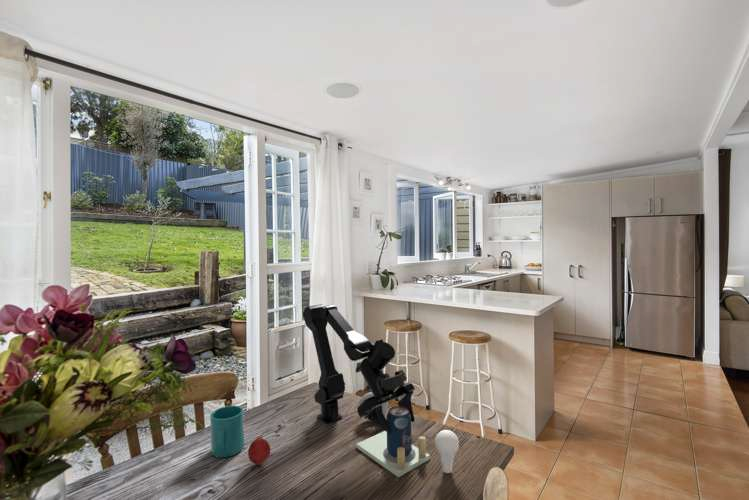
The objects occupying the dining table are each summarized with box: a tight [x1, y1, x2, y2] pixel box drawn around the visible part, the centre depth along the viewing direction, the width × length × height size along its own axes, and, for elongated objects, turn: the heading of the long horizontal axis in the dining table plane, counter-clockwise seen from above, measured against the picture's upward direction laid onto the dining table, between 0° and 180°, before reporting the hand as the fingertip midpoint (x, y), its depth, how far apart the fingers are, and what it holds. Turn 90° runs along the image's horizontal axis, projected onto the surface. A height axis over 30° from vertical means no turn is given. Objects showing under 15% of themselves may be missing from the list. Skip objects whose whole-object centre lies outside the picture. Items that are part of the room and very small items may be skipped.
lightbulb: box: [434, 429, 460, 474], centre depth 97 cm, size 6×6×11 cm
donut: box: [358, 391, 389, 422], centre depth 125 cm, size 10×4×10 cm, turn 93°
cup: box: [209, 405, 245, 459], centre depth 108 cm, size 9×12×11 cm
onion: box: [247, 435, 271, 466], centre depth 102 cm, size 6×6×8 cm
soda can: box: [385, 405, 413, 458], centre depth 104 cm, size 7×7×12 cm
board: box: [356, 430, 431, 478], centre depth 106 cm, size 18×12×6 cm, turn 39°
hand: (402, 427), depth 103 cm, fingers open, 9 cm apart
